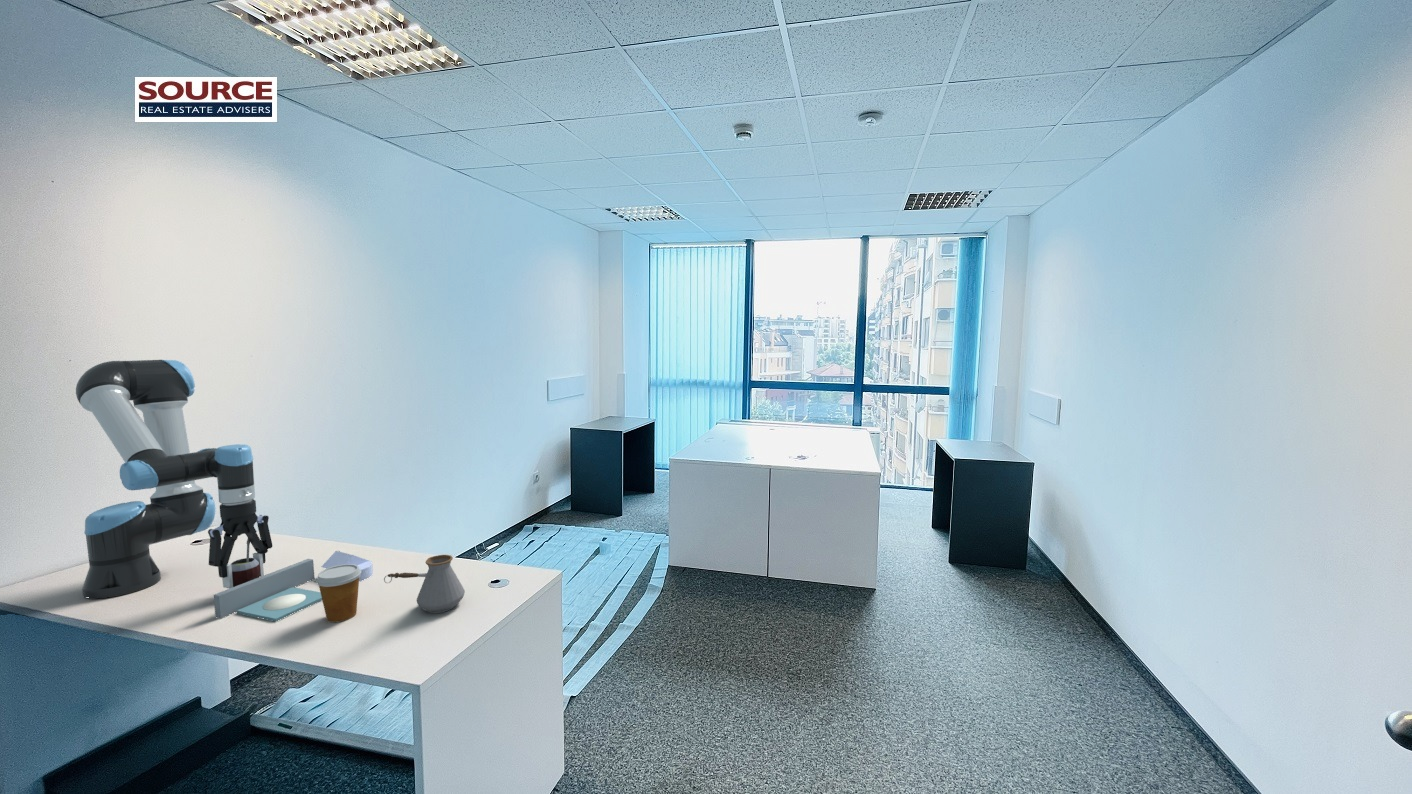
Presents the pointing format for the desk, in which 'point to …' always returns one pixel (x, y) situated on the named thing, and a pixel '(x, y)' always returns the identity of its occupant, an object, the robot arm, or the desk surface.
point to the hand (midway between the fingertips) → (244, 581)
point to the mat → (282, 604)
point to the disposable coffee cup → (339, 591)
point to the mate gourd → (245, 569)
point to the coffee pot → (437, 585)
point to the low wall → (262, 587)
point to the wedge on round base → (345, 558)
